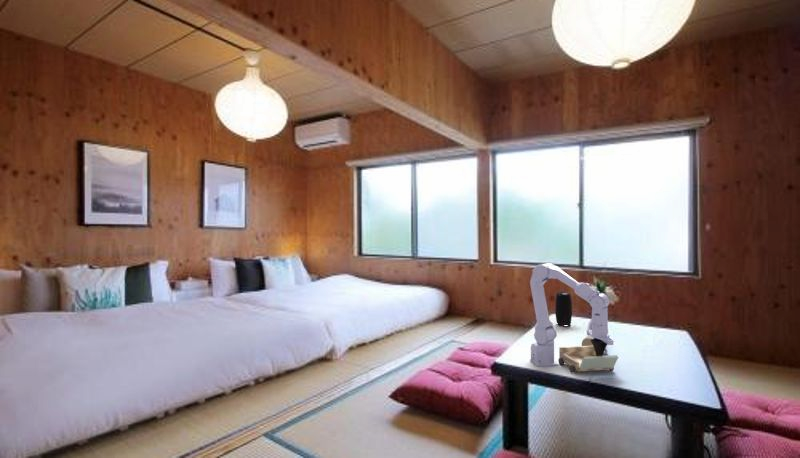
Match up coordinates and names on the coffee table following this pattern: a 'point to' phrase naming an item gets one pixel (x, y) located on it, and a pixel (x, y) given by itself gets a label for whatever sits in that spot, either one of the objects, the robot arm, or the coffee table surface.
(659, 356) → the coffee table surface
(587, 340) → the ceramic mug
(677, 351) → the coffee table surface
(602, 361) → the tailgate
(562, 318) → the portable speaker
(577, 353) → the wagon
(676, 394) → the coffee table surface
